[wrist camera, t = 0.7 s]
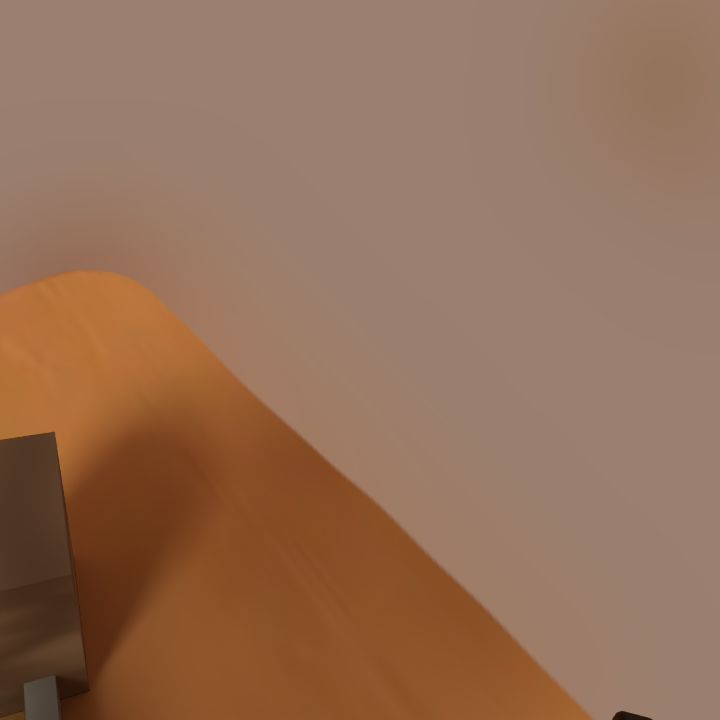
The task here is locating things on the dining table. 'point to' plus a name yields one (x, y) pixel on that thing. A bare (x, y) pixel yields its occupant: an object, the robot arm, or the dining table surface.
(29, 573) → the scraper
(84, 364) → the dining table surface
